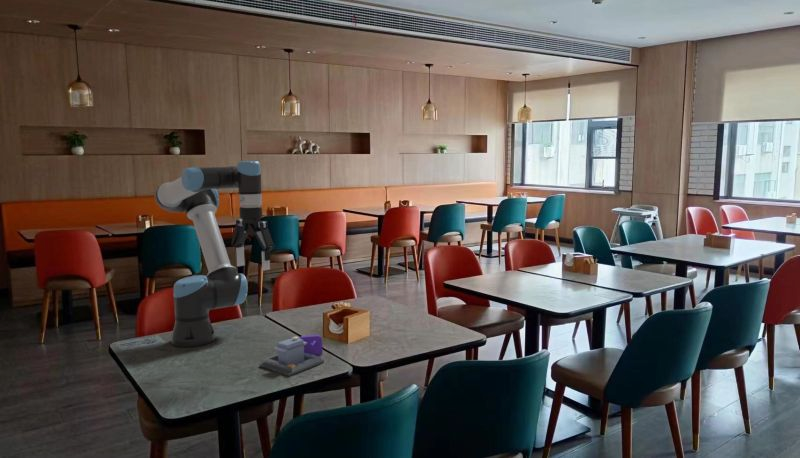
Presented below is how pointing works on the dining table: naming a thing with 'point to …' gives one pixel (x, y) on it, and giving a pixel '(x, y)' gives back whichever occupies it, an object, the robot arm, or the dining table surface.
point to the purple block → (312, 344)
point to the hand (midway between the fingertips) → (253, 267)
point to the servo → (291, 351)
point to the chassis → (291, 369)
